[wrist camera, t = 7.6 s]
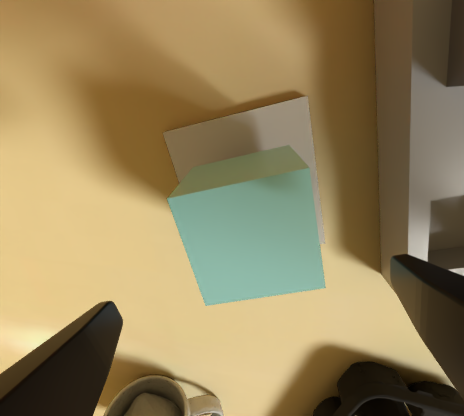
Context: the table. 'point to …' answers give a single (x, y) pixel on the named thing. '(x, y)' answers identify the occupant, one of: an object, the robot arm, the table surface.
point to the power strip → (420, 130)
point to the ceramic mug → (160, 400)
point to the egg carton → (388, 395)
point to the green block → (250, 226)
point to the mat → (248, 140)
